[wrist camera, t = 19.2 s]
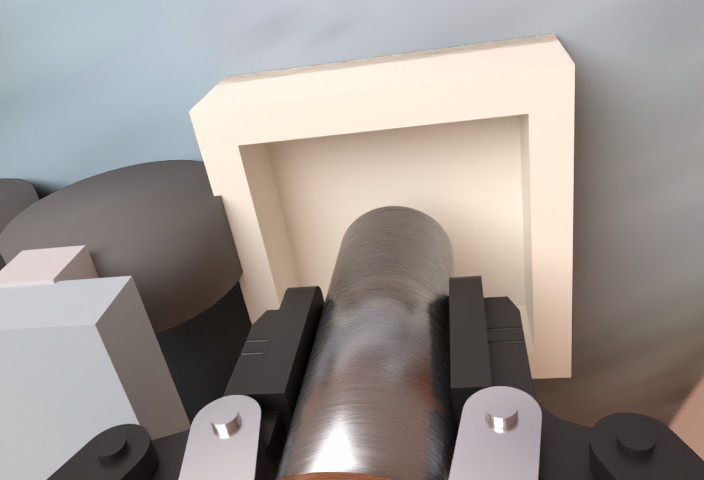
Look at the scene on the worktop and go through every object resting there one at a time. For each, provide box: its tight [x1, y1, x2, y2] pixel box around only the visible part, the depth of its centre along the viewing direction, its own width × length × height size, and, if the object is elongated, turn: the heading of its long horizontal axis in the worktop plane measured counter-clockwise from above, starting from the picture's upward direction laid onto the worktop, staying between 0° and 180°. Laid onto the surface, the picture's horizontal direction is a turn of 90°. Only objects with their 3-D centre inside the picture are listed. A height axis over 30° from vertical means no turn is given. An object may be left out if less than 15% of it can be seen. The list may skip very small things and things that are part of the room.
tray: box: [189, 34, 575, 379], centre depth 18 cm, size 9×9×3 cm
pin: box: [275, 206, 458, 480], centre depth 12 cm, size 4×4×10 cm
